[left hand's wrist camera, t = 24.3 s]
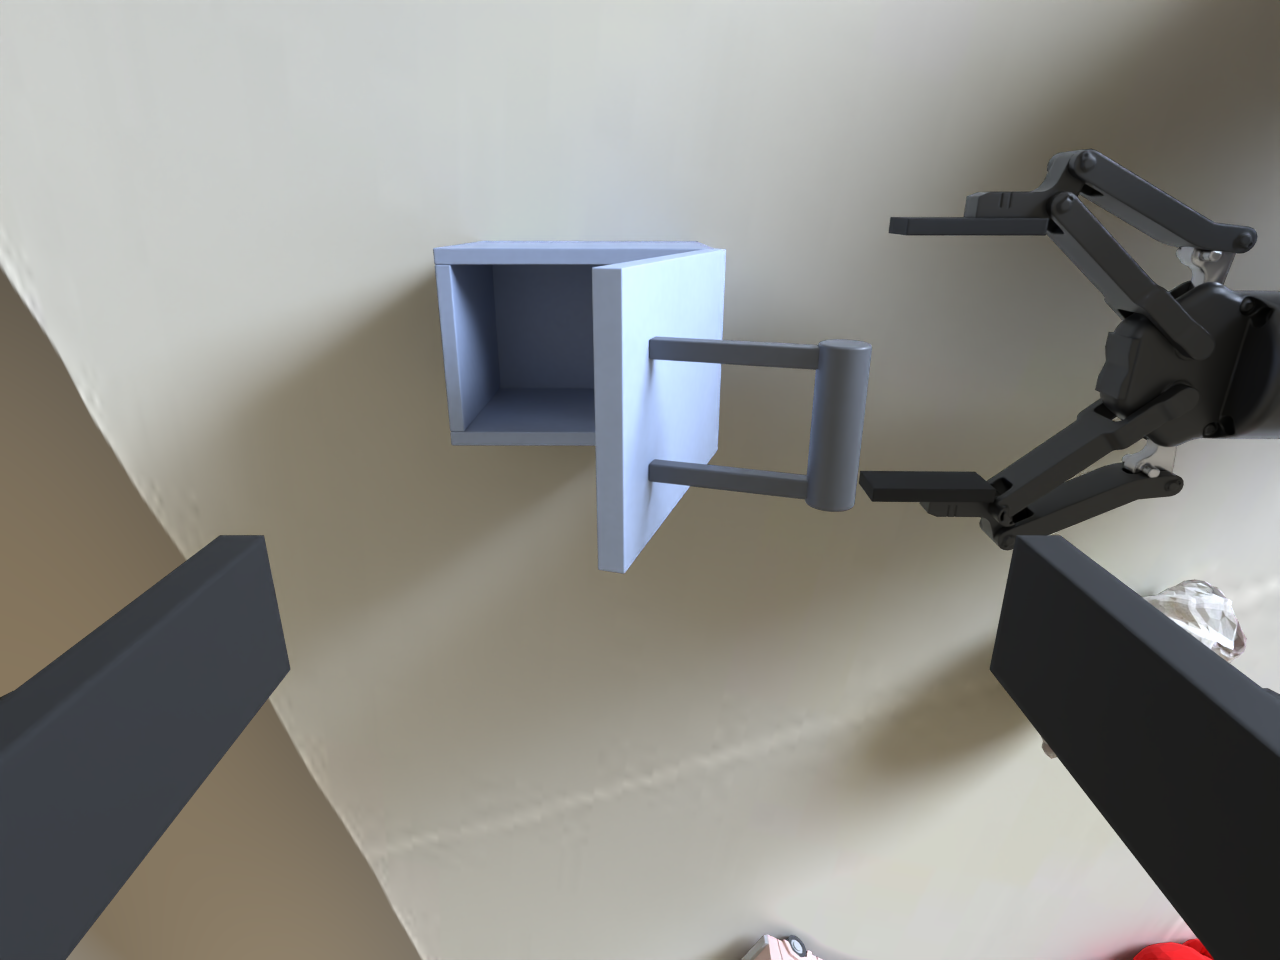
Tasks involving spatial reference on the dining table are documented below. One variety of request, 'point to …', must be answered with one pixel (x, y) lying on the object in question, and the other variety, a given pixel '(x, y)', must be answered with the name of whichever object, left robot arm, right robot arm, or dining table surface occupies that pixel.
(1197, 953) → the decorative ring
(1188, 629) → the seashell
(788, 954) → the toy car
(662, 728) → the dining table surface
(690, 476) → the lid
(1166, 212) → the right robot arm
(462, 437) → the chest
